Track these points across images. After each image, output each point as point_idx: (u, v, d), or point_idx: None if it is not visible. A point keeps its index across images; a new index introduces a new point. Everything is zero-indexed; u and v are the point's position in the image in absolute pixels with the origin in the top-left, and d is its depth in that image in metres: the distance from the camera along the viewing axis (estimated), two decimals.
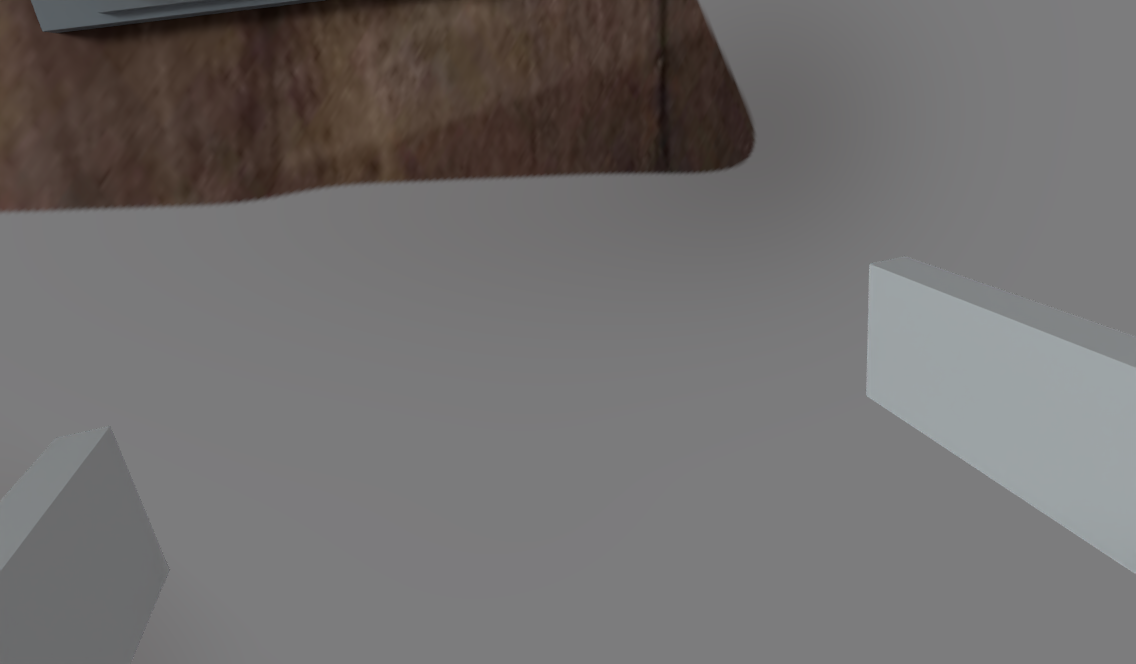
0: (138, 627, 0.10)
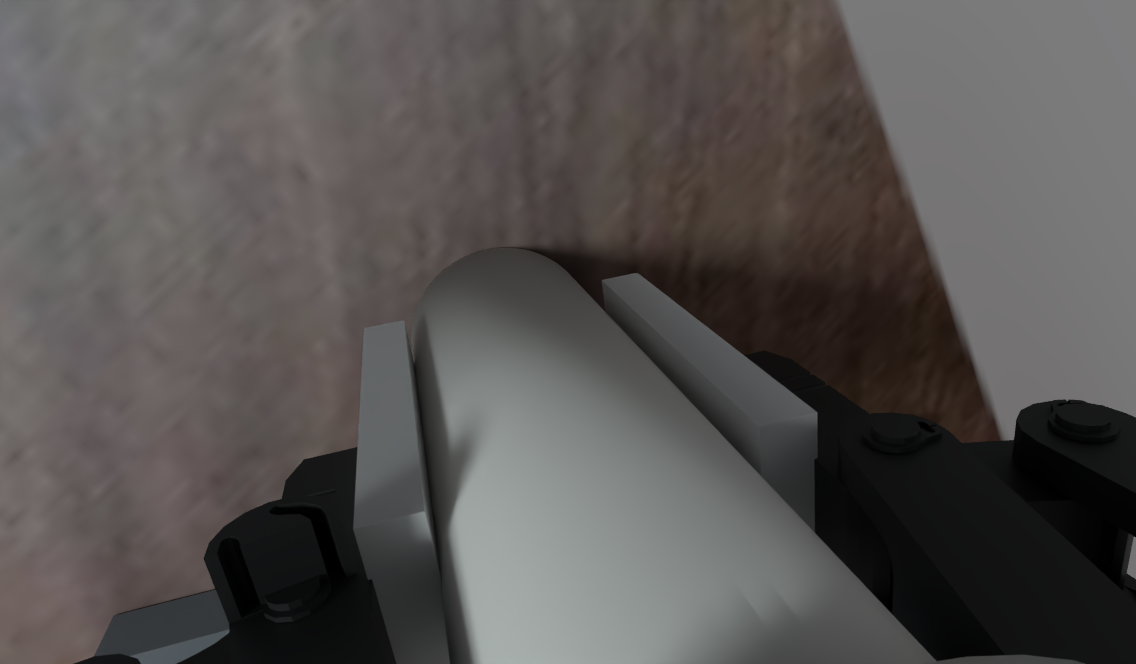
0: None
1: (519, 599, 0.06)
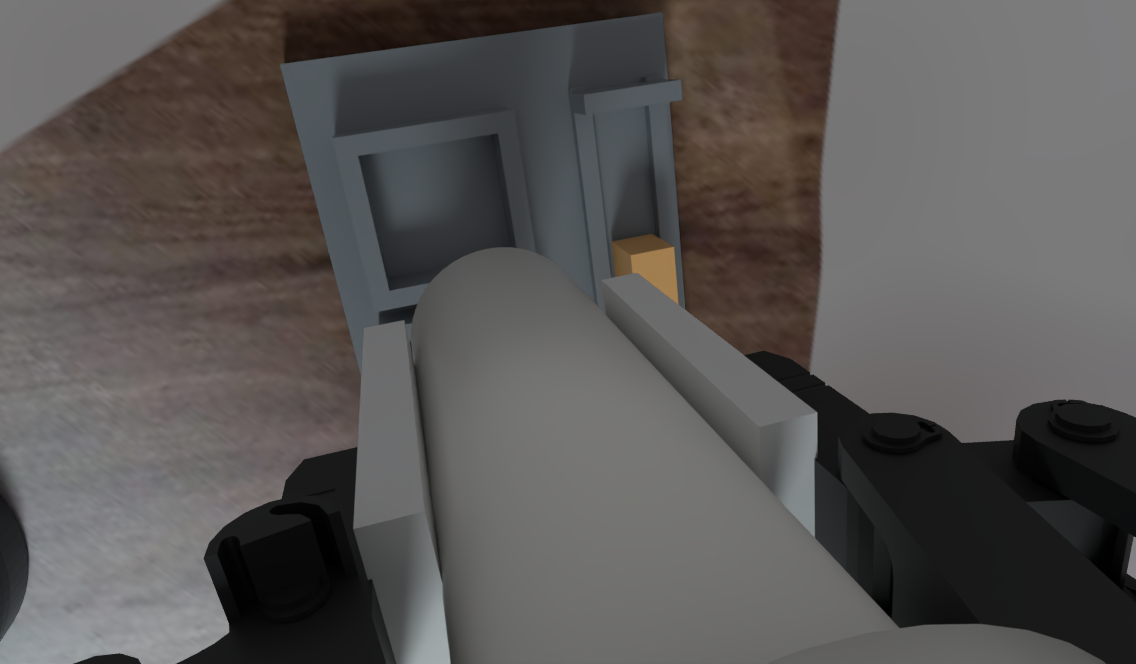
0: None
1: (514, 582, 0.06)
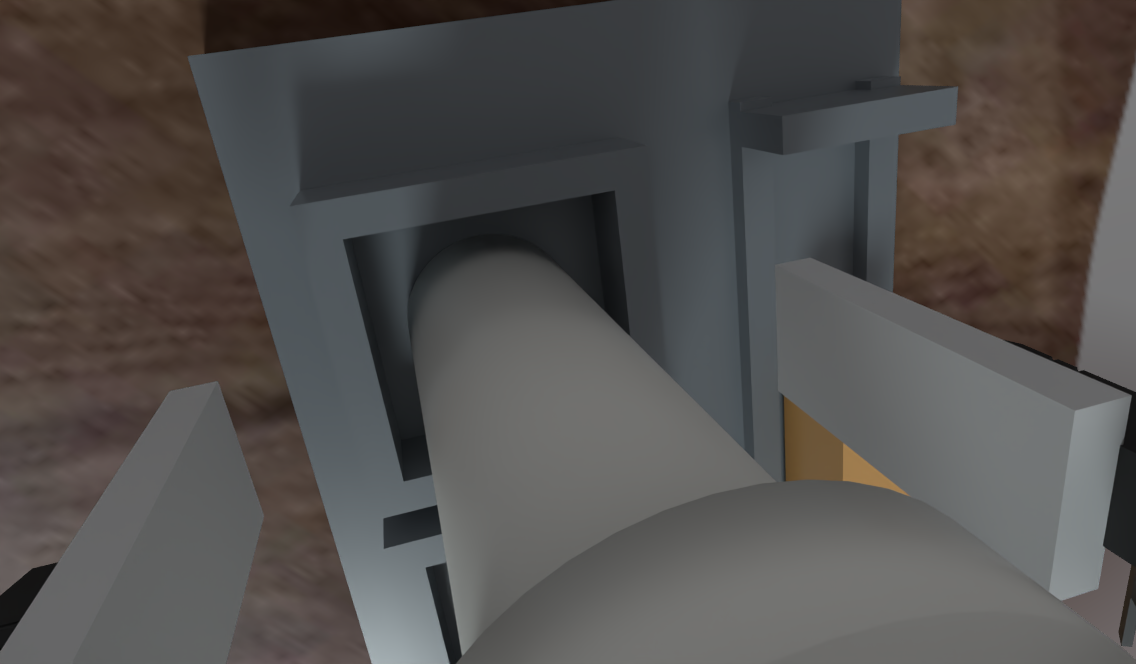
0: (247, 561, 0.12)
1: (501, 493, 0.08)
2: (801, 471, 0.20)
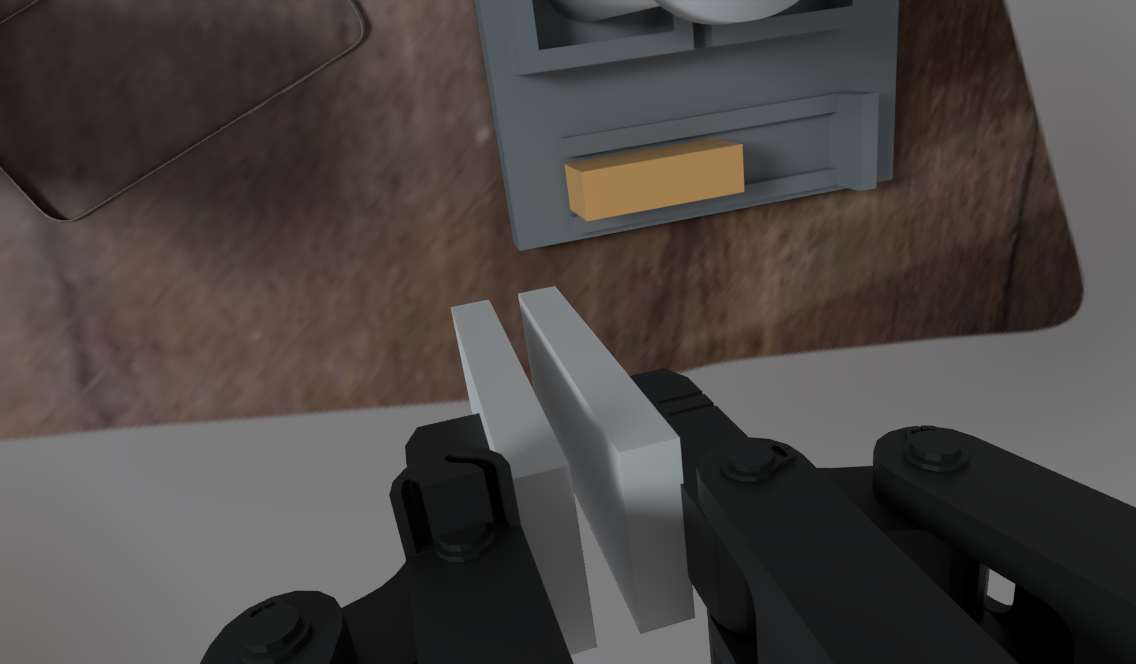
0: None
1: None
2: (659, 151, 0.31)
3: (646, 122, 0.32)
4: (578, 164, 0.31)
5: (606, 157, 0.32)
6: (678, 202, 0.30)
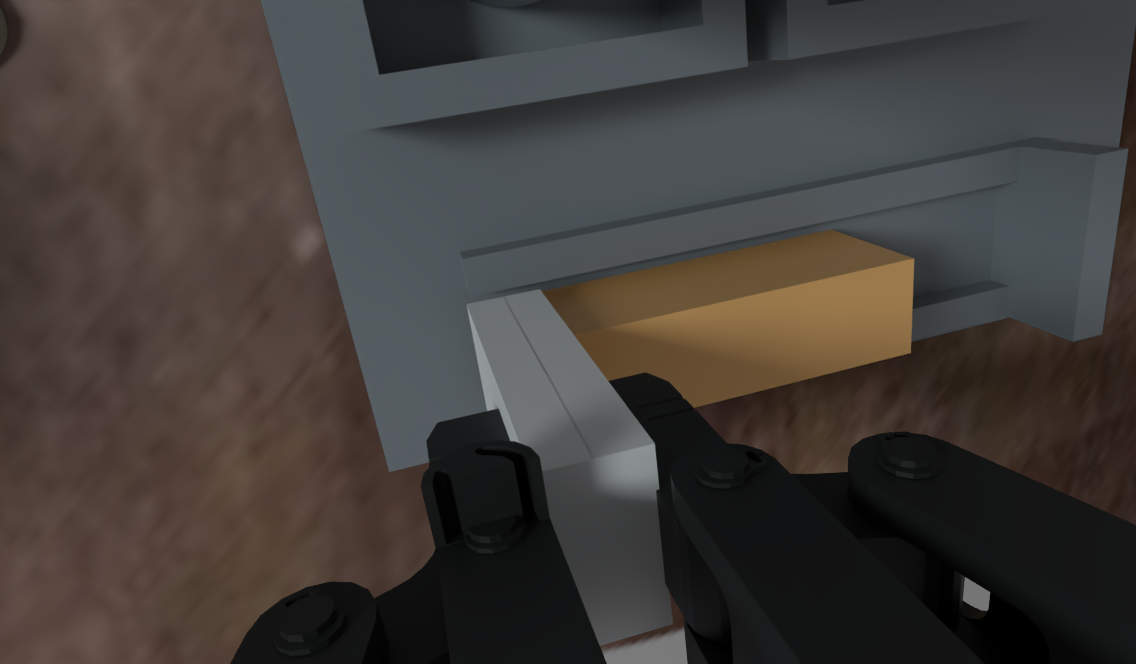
0: None
1: None
2: (728, 264, 0.15)
3: (642, 214, 0.16)
4: (561, 299, 0.15)
5: (619, 277, 0.15)
6: (775, 383, 0.14)
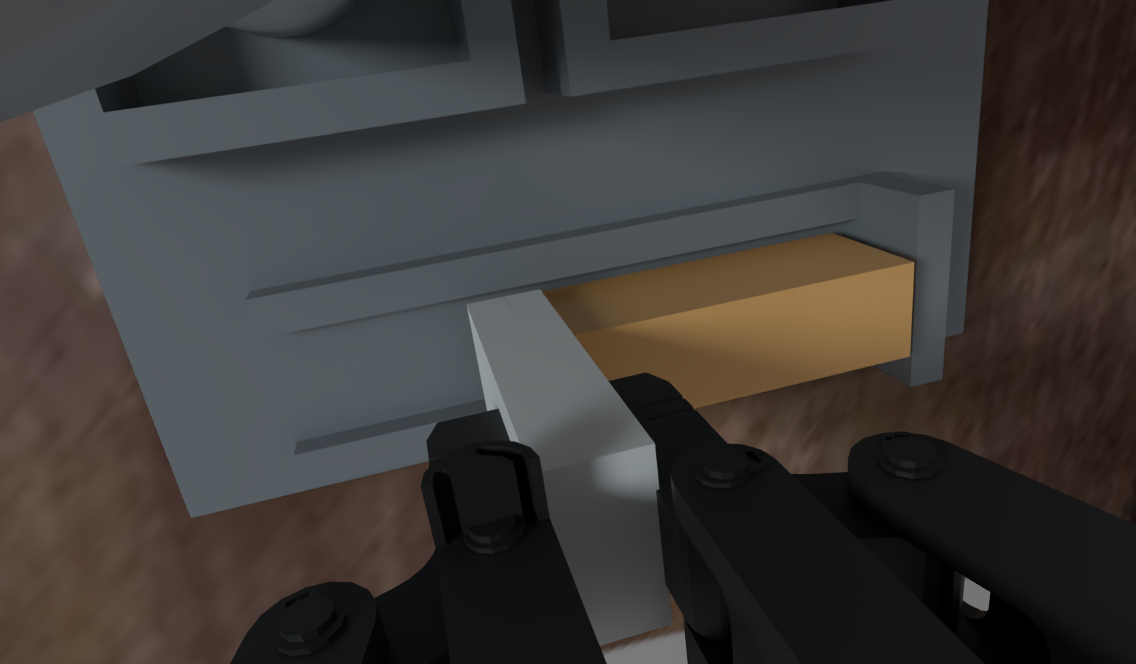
0: None
1: None
2: (728, 266, 0.15)
3: (451, 251, 0.15)
4: (561, 299, 0.15)
5: (619, 278, 0.15)
6: (775, 385, 0.14)
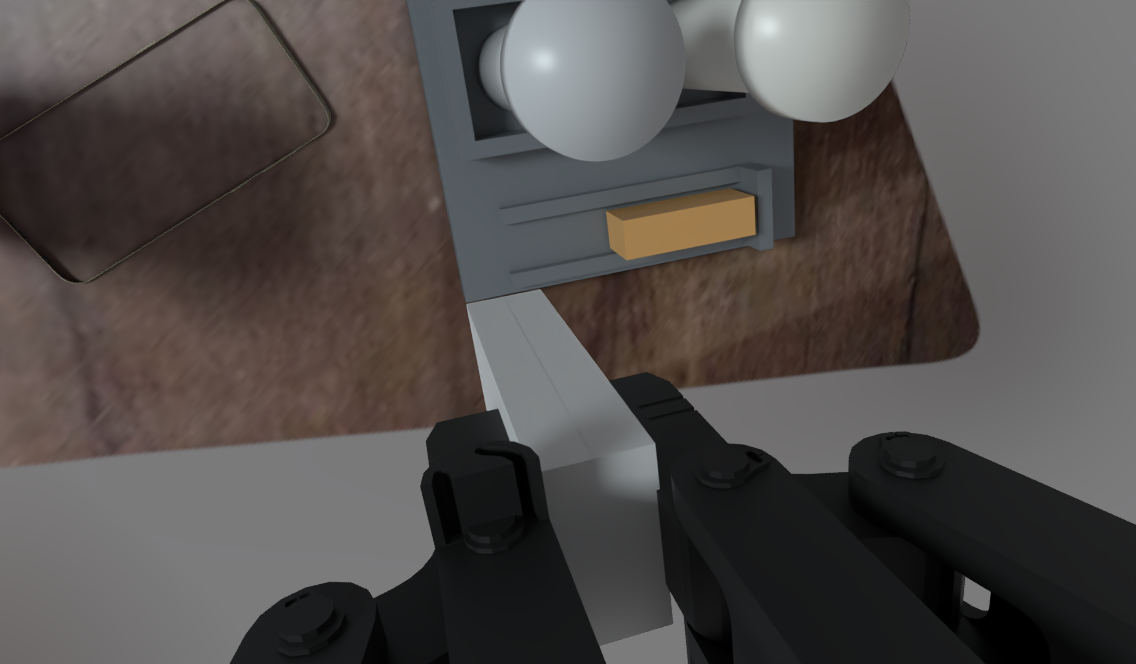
0: None
1: None
2: (684, 200, 0.38)
3: (574, 193, 0.37)
4: (618, 212, 0.37)
5: (640, 205, 0.38)
6: (701, 244, 0.37)
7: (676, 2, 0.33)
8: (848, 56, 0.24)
